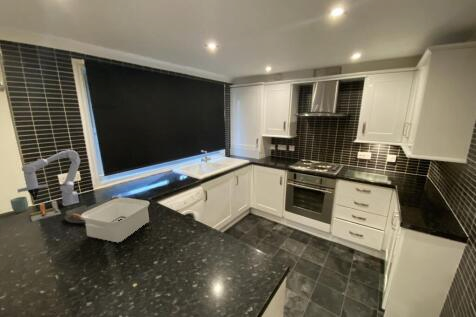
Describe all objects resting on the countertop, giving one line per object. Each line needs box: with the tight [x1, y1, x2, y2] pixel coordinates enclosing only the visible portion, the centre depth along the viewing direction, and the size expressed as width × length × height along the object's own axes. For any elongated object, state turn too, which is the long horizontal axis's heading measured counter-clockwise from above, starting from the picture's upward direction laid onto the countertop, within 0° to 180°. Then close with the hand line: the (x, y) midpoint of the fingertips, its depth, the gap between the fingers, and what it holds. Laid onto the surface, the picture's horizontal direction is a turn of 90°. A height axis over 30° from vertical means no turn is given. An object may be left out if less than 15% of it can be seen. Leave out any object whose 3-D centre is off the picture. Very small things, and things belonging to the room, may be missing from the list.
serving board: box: [63, 196, 122, 226], centre depth 142 cm, size 39×23×6 cm, turn 162°
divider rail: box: [30, 200, 59, 217], centre depth 138 cm, size 14×11×6 cm
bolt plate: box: [30, 209, 62, 222], centre depth 136 cm, size 14×8×1 cm, turn 139°
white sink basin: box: [81, 197, 150, 244], centre depth 118 cm, size 34×29×15 cm
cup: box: [10, 196, 29, 213], centre depth 141 cm, size 8×8×10 cm
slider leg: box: [39, 202, 47, 215], centre depth 138 cm, size 2×11×6 cm, turn 50°
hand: (35, 198), depth 139 cm, fingers closed
